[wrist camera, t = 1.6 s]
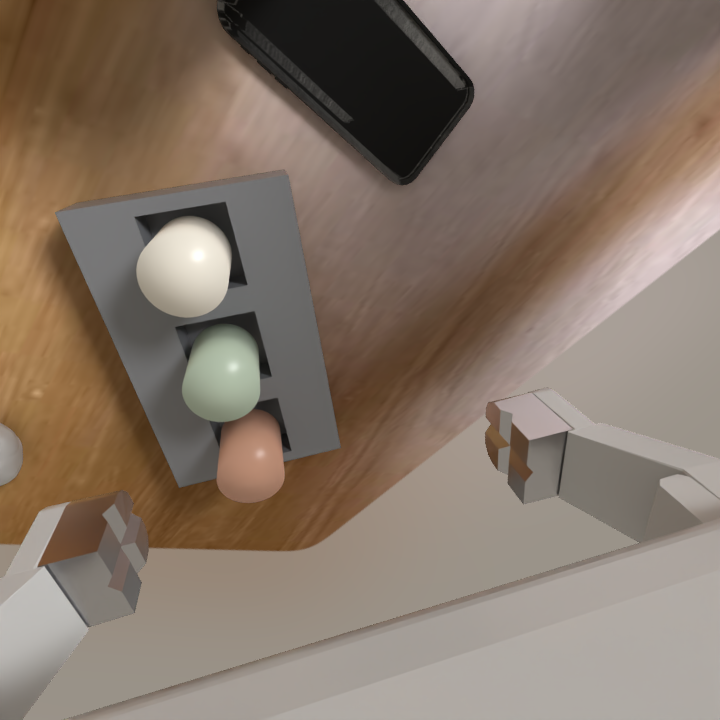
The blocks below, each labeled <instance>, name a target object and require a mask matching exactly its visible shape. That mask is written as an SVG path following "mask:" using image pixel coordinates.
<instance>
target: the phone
mask: <svg viewBox="0 0 720 720" xmlns="http://www.w3.org/2000/svg"><path fill="white" fill-rule="evenodd" d="M217 11H218V16H219V20H220V22H221V24H222V26H223V28H224V29H225V31H226V32H227V33H228V34H229V35H230V36H231V37H232V38H233V39H234V40H236V41H237V42H238V43H239V44H240V45H241V47H242V48H243V49H244V50H245V51H246V52H247V53H248V54H249V53H250V54H251V55H252V56H253V57H254V58H255V59H257V60H258V61H257V62H258V63H259V64H260V65H261V66H262V67H263V68H264V69H266V70H267V71H268V72H269V73H270V74H271V73H272V74H273V75H274V76H275V79H276V80H277V81H278V82H280V83H281V84H282V85H283V86H284V87H285V88H286V89H287V87H288V88H289V89H290V90H291V91H292V92H293V93H294V94H295V95H296V96H297V97H299V98H300V99H301V100H302V101H303V102H304V103H305V104H306V105H307V106H309V107H310V108H311V109H312V110H313V111H314V112H315V113H316V114H317V115H318V116H320V117H321V118H322V119H323V120H324V121H325V122H326V123H327V124H328V125H330V126H331V127H332V128H333V129H334V130H335V131H336V132H337V133H338V134H339V135H341V136H342V137H343V138H344V139H345V140H346V141H347V142H348V143H349V144H351V145H352V146H353V147H354V148H355V149H356V150H357V151H358V152H359V153H360V154H362V155H363V156H364V157H365V158H366V159H367V160H368V161H369V162H370V163H372V164H373V165H374V166H375V167H376V168H377V169H378V170H379V171H380V172H382V173H383V174H384V175H385V176H386V177H387V178H388V179H389V180H391V181H392V182H394V183H396V184H399V185H407V184H409V183H411V182H413V181H414V180H415V179H416V178H417V176H418V175H419V174H420V172H421V171H422V170H423V168H424V167H425V166H426V164H427V163H428V162H429V160H430V159H431V158H432V156H433V155H434V154H435V152H436V151H437V150H438V149H439V147H440V146H441V145H442V143H443V142H444V141H445V139H446V138H447V137H448V135H449V134H450V133H451V131H452V130H453V129H454V127H455V126H456V125H457V123H458V122H459V121H460V120H461V118H462V117H463V116H464V114H465V113H466V112H467V110H468V109H469V108H470V106H471V104H472V102H473V99H474V86H473V83H472V81H471V80H470V78H469V77H468V76H467V74H466V73H465V72H464V71H463V70H462V69H461V67H460V66H459V65H458V64H457V63H456V62H455V60H454V59H453V58H452V57H451V56H450V55H449V53H448V52H447V51H446V50H445V49H444V48H443V46H442V45H441V44H440V43H439V42H438V41H437V39H436V38H435V37H434V36H433V35H432V33H431V32H430V31H429V30H428V29H427V28H426V26H425V25H424V24H423V23H422V22H421V21H420V19H419V18H418V17H417V16H416V15H415V14H414V12H413V11H412V10H411V9H410V8H409V7H408V5H407V4H406V3H405V2H404V1H403V0H218V2H217Z"/></svg>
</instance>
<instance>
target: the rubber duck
mask: <svg viewBox="0 0 720 720" xmlns="http://www.w3.org/2000/svg"><path fill="white" fill-rule="evenodd" d="M22 463H23V447H22V443H21V441H20V439H19V438H18V437H17V436H16V434H15V433H14V432H13V431H12V430H11V429H10V428H8V427H7V426H5V425H3V424H2V423H0V486H1V485H4V484H6V483H8V482H10V481H11V480H12V479H14V478H15V477H16V476H17V474H18V473H19V471H20V469H21V466H22Z"/></svg>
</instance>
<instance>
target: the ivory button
mask: <svg viewBox="0 0 720 720" xmlns="http://www.w3.org/2000/svg"><path fill="white" fill-rule="evenodd" d="M231 262H232V251H231V246H230V243H229V241H228V239H227V237H226V235H225V234H224V233H223V231H222V230H221V229H220V228H219V227H218V226H217V225H215V224H214V223H212V222H211V221H209V220H207V219H204V218H201V217H197V216H182V217H178V218H175V219H173V220H171V221H169V222H168V223H167V224H165V225H164V226H163V227H162V229H161V230H160V231H159V232H158V233H157V234H156V235H155V237H154V238H153V239H152V240H151V241H150V242H149V243H148V245H147V246H146V247H145V248H144V249H143V251H142V252H141V254H140V256H139V259H138V262H137V268H136V275H137V280H138V284H139V286H140V289H141V291H142V292H143V294H144V295H145V297H146V298H147V299H148V300H149V301H150V302H151V303H152V304H153V305H154V306H155V307H157V308H158V309H160V310H161V311H163V312H165V313H167V314H170V315H173V316H177V317H185V318H188V317H198V316H201V315H204V314H207V313H209V312H210V311H212V310H213V309H215V308H216V307H217V306H218V305H219V304H220V303H221V302H222V300H223V299H224V297H225V295H226V292H227V289H228V283H229V276H230V269H231Z"/></svg>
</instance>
